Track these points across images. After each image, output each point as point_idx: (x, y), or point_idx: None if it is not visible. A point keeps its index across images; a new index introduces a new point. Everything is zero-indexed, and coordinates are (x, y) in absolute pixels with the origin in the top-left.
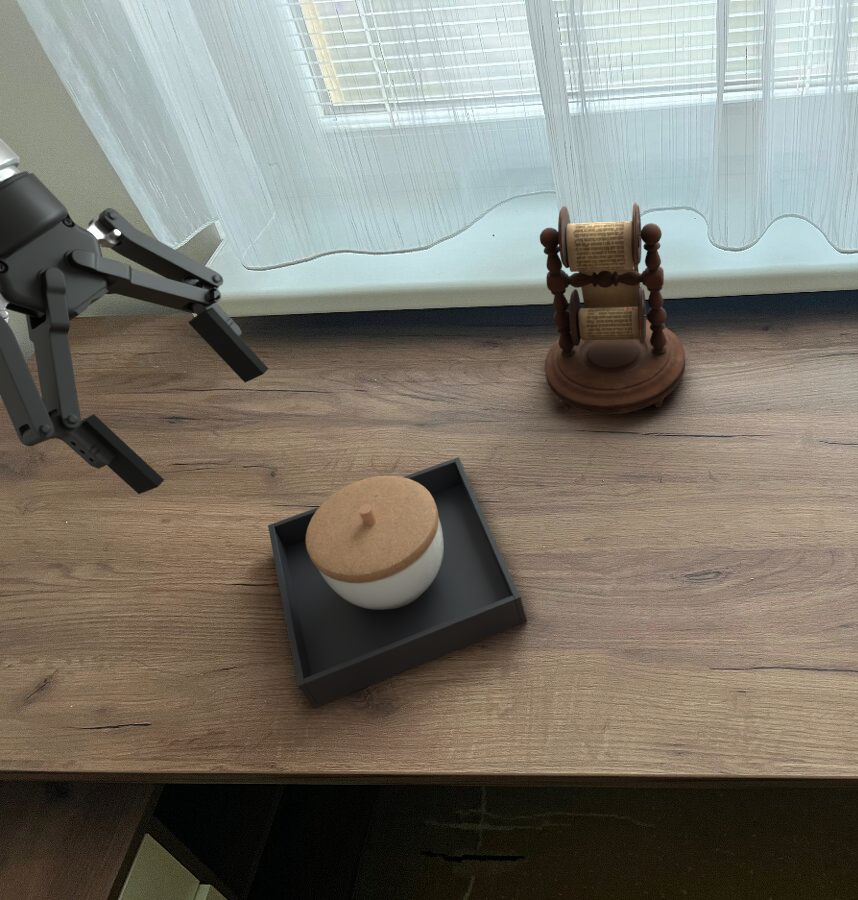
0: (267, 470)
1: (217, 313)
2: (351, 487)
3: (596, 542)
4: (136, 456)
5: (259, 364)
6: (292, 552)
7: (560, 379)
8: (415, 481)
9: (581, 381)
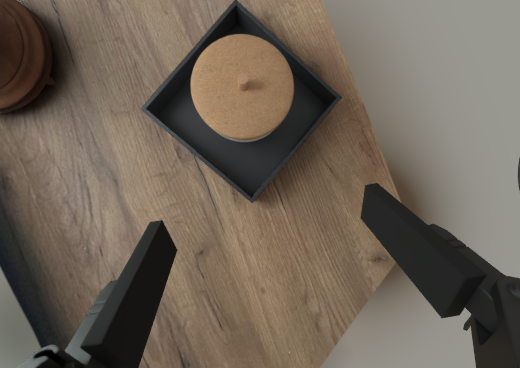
0: (199, 259)
1: (91, 327)
2: (218, 124)
3: (166, 5)
4: (394, 208)
5: (151, 230)
6: (252, 188)
7: (23, 76)
8: (173, 131)
9: (17, 53)
